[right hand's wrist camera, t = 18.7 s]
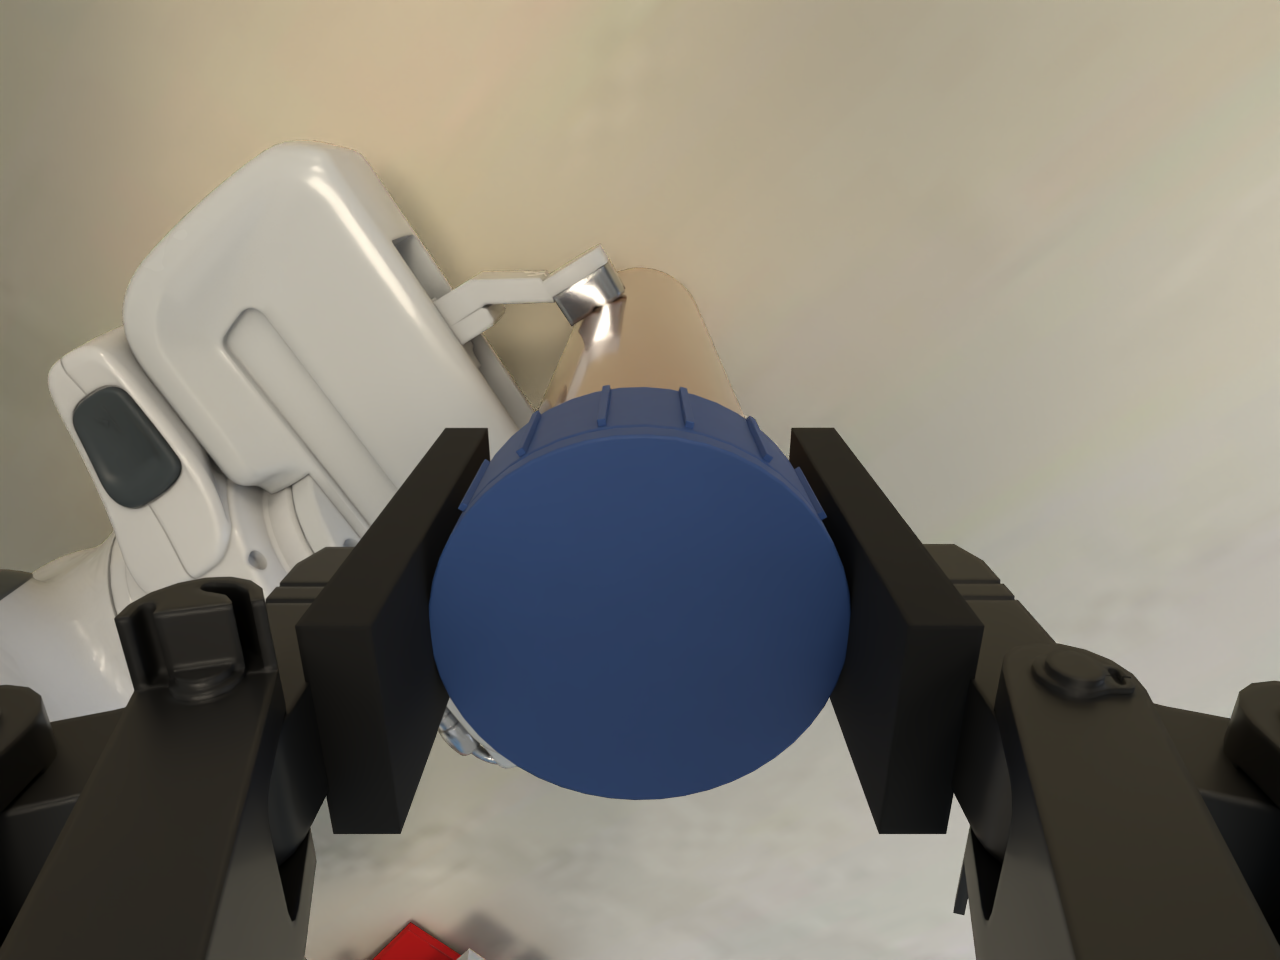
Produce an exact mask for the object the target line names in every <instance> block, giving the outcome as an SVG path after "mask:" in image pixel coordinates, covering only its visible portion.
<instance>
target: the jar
mask: <svg viewBox="0 0 1280 960" xmlns="http://www.w3.org/2000/svg"><path fill="white" fill-rule="evenodd" d="M617 273H618V275H619V277H620V278H621V280H622V282H623V284H624V286H625V287H626V289H625V293H624V294H622V295H621V296H620V297H619V298H617V299H616V300H614V301H612V302H611V303H609V304H607V305H604V306H596V305H595V307H594V309H593V311H592V313H591V314H590V315H589V316H587V317H586V318H584V319H583V320H581V321H579V322H578V323H576V324H575V325H574V328H573V330H572V332H571V335H570V337H569V339H568V342H567V344H566V346H565V349H564V351H563V353H562V356H561V358H560V360H559V363H558V365H557V367H556V370H555V372H554V374H553V377H552V379H551V381H550V384H549V386H548V388H547V391H546V393H545V395H544V398H543V400H542V402H541V405H540V407H539V409H538V411H539V412H540V414H542V413H544V412H546V411H547V410H549V409H551V408H553V407H555V406H557V405H560V404H562V403H564V402H566V401H568V400H571V399H574V398H577V397H580V396H583V395H587V394H590V393H593V392H598V391H602V387H603V386H605V385H610V388H611V389H616V388H628V387H652V388H663V389H672V390H676V391H679V388H680V387H684V388H687V391H688V393H690V394H694V395H697V396H700V397H702V398H705V399H708V400H711V401H713V402H716V403H718V404H720V405H722V406H724V407H726V408H728V409H730V410H732V411H734V412H736V413H738V414H739V415H741V416H742V417H744V414H743V412H742V410H741V407H740V405H739V403H738V400H737V398H736V396H735V393H734V391H733V389H732V386H731V384H730V382H729V379H728V377H727V375H726V372H725V370H724V368H723V365H722V363H721V361H720V358H719V356H718V354H717V351H716V349H715V347H714V344H713V342H712V340H711V337H710V335H709V333H708V330H707V328H706V326H705V323H704V321H703V319H702V316H701V314H700V312H699V309H698V307H697V305H696V303H695V301H694V299H693V297H692V296H691V294H690V293H689V291H688V290H687V289H686V288H685V287H684V286H683V285H682V284H681V283H680V282H679V281H677V280H676V279H675V278H673V277H672V276H670V275H668V274H666V273H664V272H661V271H658V270H655V269H649V268H630V269H625V270H621V271H619V272H617ZM744 418H745V417H744Z"/></svg>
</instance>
